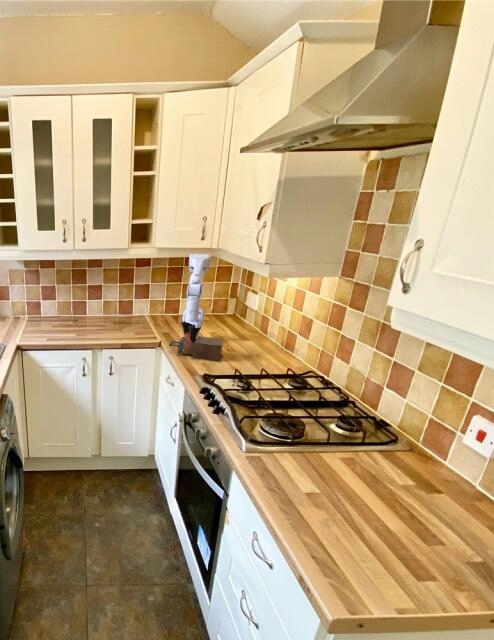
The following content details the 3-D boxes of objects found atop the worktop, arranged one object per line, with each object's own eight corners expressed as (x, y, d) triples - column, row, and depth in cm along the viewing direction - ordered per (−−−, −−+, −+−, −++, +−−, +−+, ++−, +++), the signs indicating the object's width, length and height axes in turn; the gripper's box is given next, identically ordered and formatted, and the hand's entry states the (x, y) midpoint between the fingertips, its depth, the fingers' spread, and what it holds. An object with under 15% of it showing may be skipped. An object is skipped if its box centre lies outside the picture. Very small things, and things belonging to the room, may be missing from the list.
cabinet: (192, 358, 191) (194, 342, 188) (196, 351, 200) (198, 336, 197) (218, 361, 186) (220, 345, 183) (221, 354, 195) (223, 339, 192)
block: (183, 342, 193) (184, 333, 192) (186, 339, 197) (187, 331, 195) (191, 343, 191) (192, 335, 190) (194, 341, 195) (195, 333, 193)
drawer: (167, 352, 195) (168, 340, 193) (171, 346, 203) (172, 335, 201) (200, 356, 190) (201, 344, 187) (203, 350, 198) (204, 339, 195)
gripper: (208, 313, 182) (204, 342, 188) (193, 306, 195) (190, 333, 201) (193, 314, 181) (190, 343, 186) (179, 307, 194) (176, 334, 199)
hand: (189, 338), depth 193 cm, fingers closed on block, 5 cm apart
